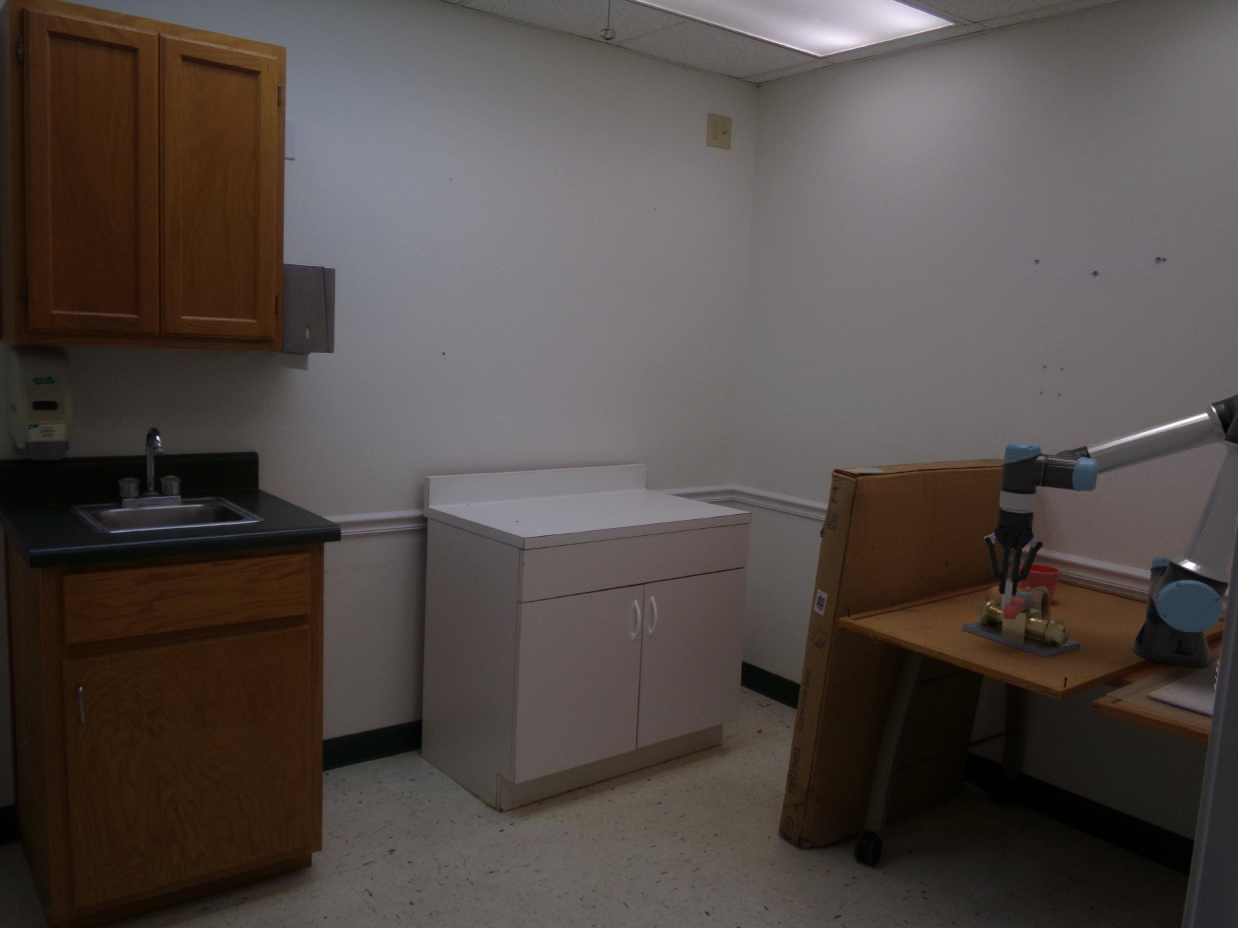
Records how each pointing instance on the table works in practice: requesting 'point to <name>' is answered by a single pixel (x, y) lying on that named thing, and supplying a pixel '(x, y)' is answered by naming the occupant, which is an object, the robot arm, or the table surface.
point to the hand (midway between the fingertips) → (1005, 607)
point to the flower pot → (1041, 578)
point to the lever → (1018, 605)
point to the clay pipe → (1038, 598)
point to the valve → (1022, 630)
